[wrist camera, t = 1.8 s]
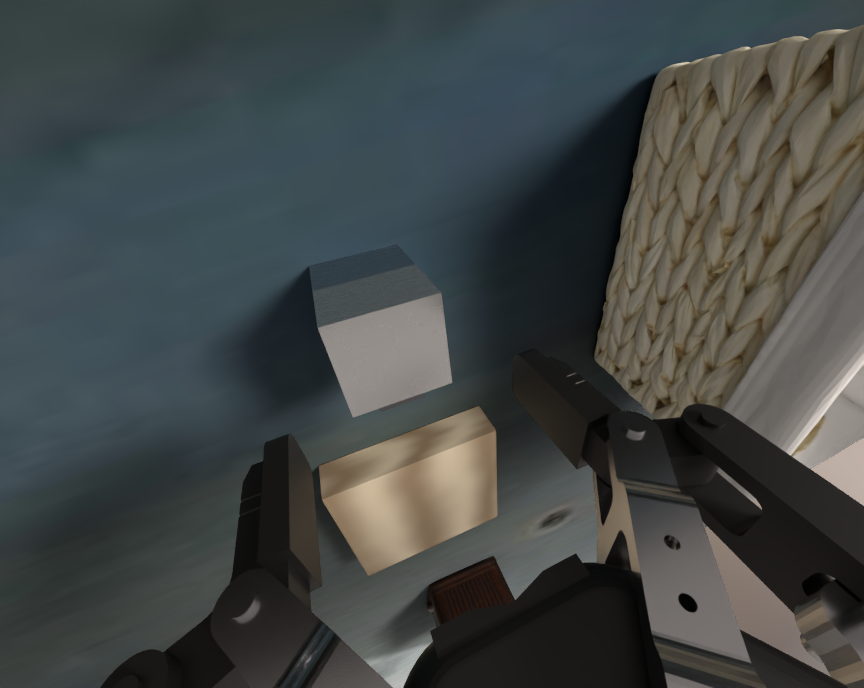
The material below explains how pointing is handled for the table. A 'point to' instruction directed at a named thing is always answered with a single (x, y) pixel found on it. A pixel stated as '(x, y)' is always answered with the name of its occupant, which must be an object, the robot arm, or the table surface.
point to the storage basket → (748, 245)
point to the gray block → (381, 328)
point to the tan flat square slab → (414, 489)
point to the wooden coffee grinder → (468, 591)
